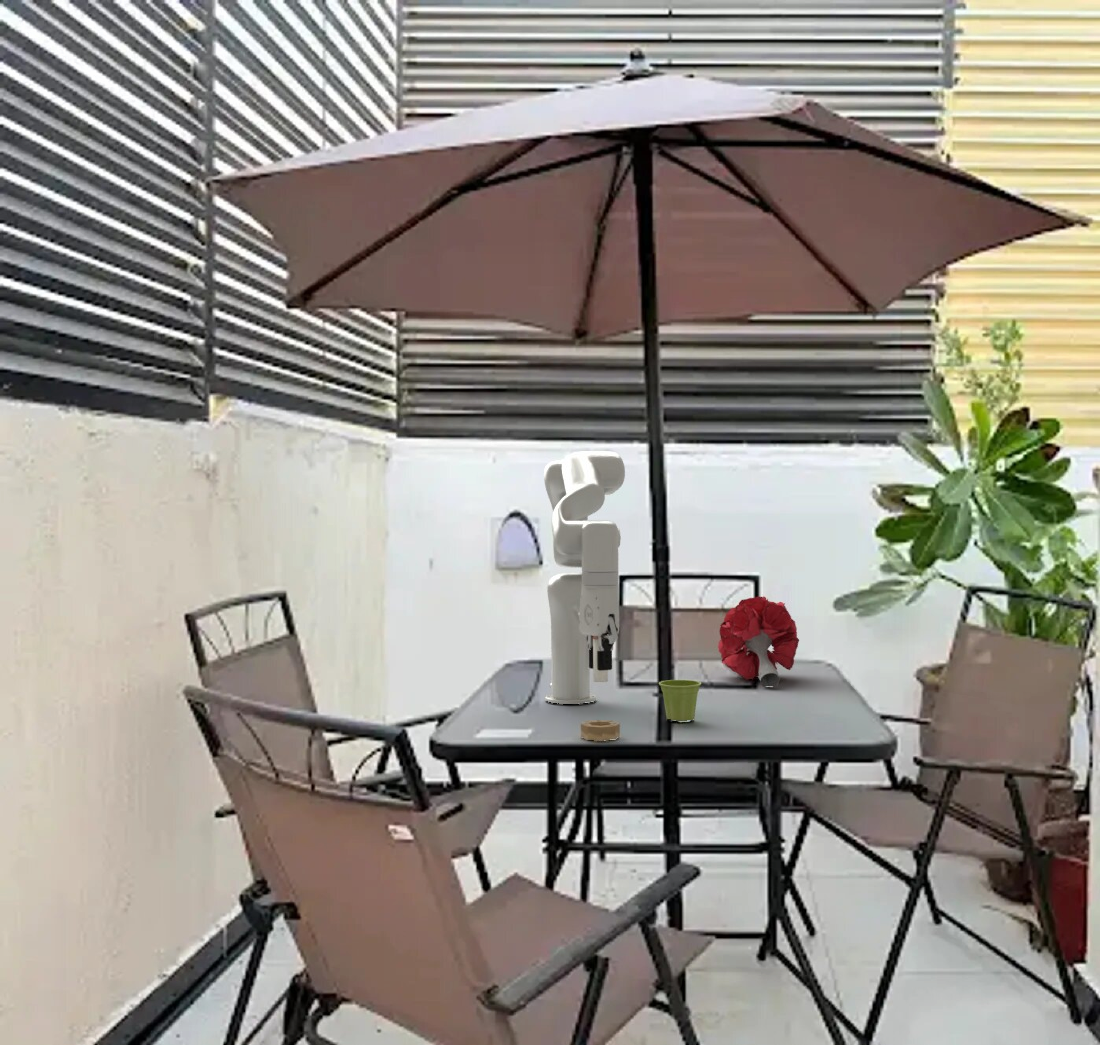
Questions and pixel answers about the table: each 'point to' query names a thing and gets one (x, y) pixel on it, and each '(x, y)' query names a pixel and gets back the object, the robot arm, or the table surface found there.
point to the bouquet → (758, 639)
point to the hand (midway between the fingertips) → (600, 668)
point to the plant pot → (680, 698)
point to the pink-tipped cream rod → (597, 674)
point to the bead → (600, 730)
